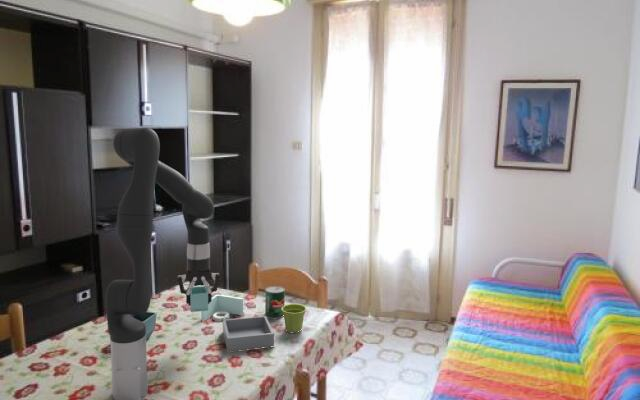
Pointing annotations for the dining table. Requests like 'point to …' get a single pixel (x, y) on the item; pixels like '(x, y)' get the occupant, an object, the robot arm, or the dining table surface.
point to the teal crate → (199, 299)
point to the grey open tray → (247, 333)
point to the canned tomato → (274, 301)
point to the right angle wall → (223, 307)
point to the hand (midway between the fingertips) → (199, 303)
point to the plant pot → (293, 316)
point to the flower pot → (147, 321)
